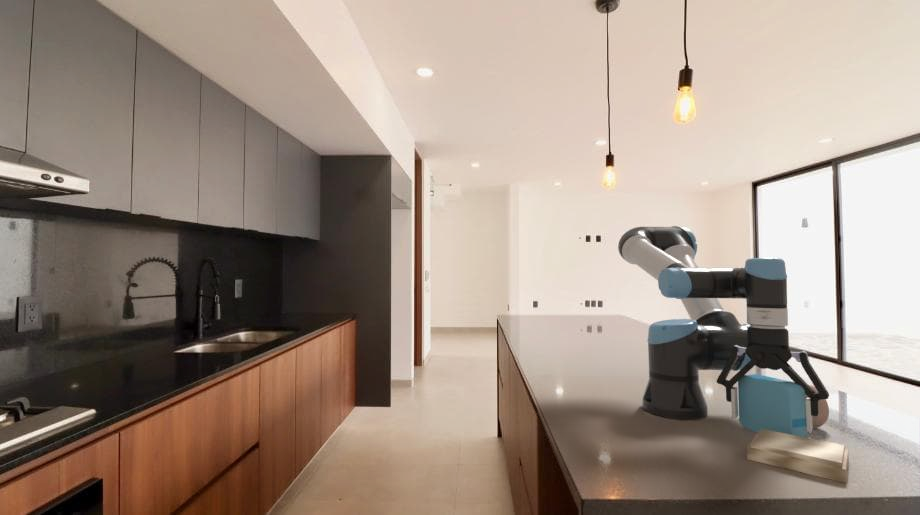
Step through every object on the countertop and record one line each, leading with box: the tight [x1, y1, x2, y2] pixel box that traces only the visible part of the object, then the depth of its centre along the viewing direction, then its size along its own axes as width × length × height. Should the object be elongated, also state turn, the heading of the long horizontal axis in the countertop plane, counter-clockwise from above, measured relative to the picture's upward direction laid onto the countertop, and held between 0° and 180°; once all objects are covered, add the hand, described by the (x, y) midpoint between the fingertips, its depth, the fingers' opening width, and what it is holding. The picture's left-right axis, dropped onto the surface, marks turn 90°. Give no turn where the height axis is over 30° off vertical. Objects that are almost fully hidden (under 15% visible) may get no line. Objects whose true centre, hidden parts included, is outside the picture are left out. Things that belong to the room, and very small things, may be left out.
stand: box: [746, 429, 850, 484], centre depth 82 cm, size 14×12×3 cm
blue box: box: [737, 373, 807, 438], centre depth 96 cm, size 12×4×12 cm, turn 17°
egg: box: [805, 384, 830, 429], centre depth 100 cm, size 7×7×10 cm
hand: (770, 423), depth 96 cm, fingers open, 13 cm apart
